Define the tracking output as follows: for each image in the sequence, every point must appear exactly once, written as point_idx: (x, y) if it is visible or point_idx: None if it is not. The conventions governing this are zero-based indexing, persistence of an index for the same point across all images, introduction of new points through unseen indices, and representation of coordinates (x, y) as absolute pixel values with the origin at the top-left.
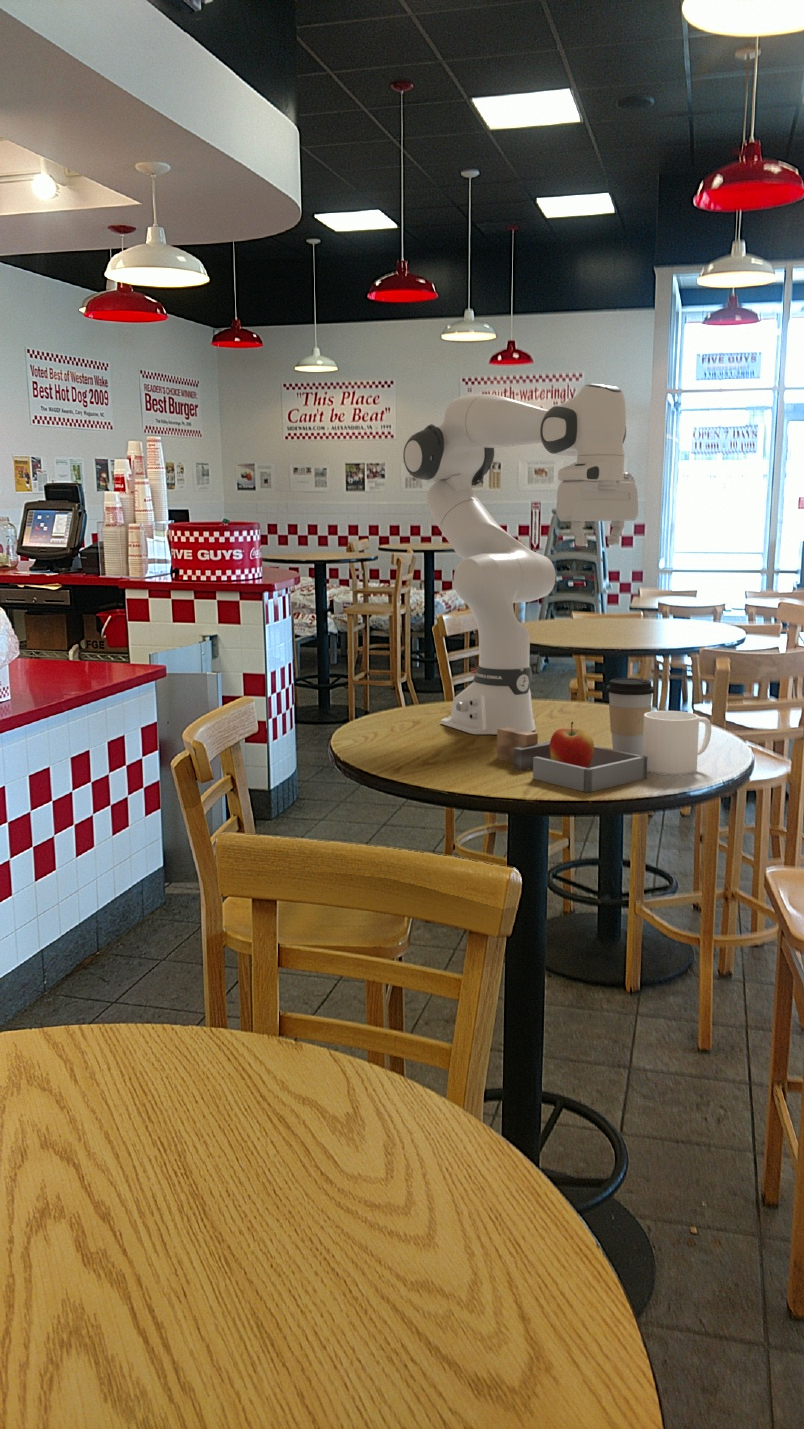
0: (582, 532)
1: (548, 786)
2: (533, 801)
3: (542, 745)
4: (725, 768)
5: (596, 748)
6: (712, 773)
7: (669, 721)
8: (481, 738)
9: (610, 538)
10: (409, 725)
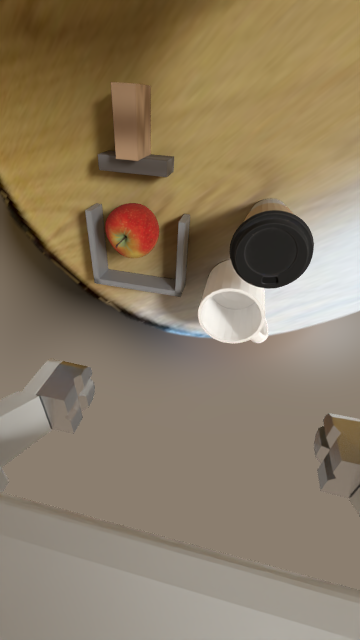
0: (16, 445)
1: None
2: (48, 254)
3: (138, 173)
4: (276, 321)
5: (178, 234)
6: None
7: (202, 325)
8: None
9: (330, 456)
10: None
